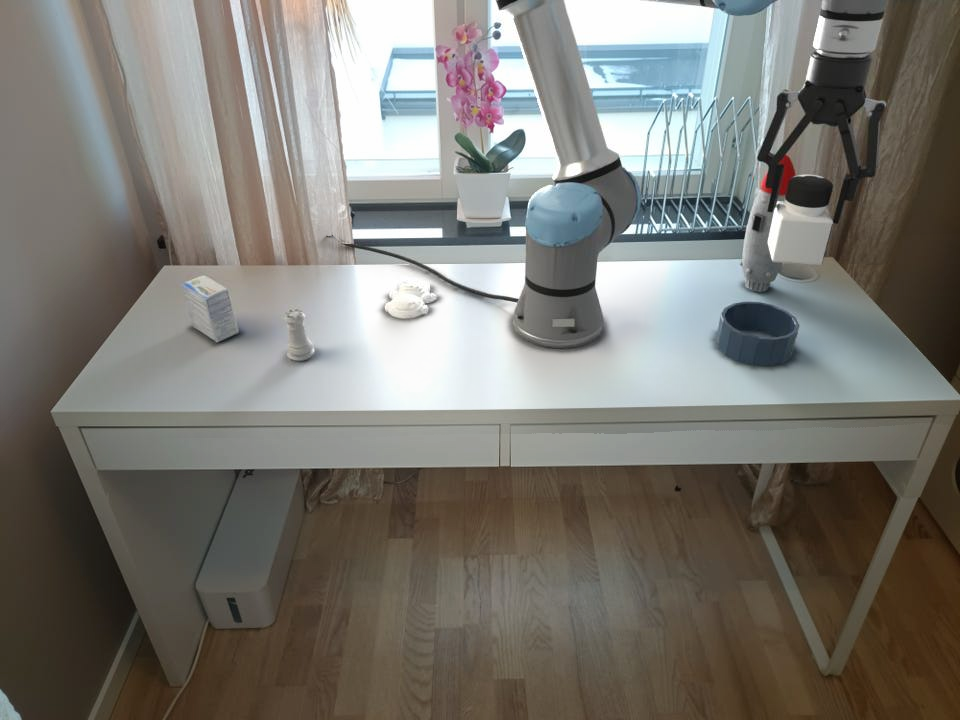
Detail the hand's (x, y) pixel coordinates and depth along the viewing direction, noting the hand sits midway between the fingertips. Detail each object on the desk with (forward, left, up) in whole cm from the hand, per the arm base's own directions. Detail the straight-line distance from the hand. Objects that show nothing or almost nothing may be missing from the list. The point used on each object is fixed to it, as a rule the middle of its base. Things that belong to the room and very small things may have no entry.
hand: (803, 214), depth 110 cm
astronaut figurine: (-60, -16, -23) cm, 67 cm away
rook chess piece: (-66, -40, -23) cm, 81 cm away
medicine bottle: (0, 0, -7) cm, 7 cm away
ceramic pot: (-2, -3, -22) cm, 23 cm away
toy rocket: (-6, +18, -23) cm, 30 cm away
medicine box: (-84, -41, -23) cm, 96 cm away
